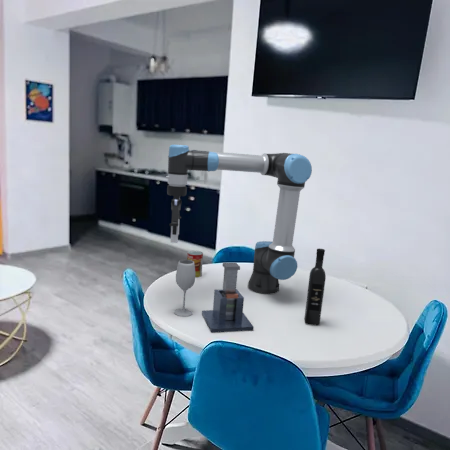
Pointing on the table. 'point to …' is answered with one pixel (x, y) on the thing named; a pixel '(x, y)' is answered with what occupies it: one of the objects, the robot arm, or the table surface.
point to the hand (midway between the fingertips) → (174, 238)
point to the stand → (218, 314)
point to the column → (230, 287)
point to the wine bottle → (315, 291)
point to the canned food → (196, 261)
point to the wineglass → (185, 282)
